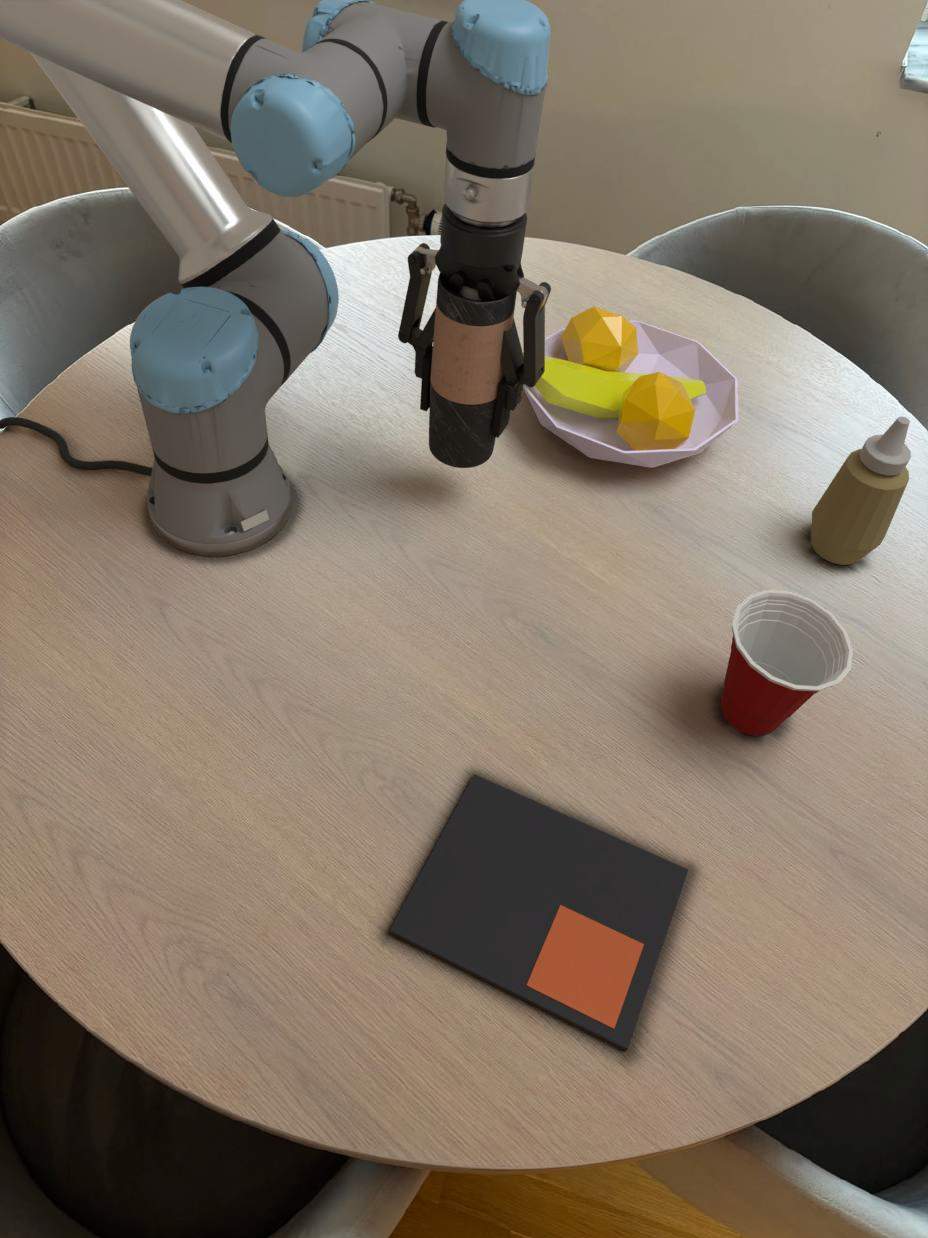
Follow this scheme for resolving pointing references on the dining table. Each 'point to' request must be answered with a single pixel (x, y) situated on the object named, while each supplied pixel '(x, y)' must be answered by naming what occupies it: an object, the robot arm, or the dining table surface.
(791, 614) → the plastic cup
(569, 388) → the fruit bowl
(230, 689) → the dining table surface
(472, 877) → the mat
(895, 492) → the squeeze bottle
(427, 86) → the robot arm
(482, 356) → the travel mug
